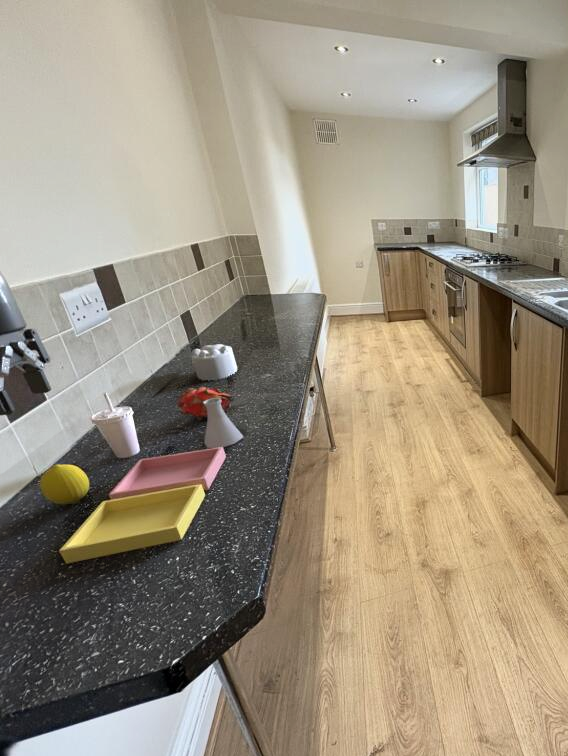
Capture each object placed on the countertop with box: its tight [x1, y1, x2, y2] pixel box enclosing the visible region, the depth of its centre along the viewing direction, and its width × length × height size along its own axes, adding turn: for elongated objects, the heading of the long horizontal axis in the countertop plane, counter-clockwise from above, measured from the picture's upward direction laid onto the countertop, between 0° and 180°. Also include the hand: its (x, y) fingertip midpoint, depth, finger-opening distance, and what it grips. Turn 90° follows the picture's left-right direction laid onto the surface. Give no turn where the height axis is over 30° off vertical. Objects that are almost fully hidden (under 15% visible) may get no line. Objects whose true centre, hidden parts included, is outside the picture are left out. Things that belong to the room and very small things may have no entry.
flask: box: [203, 398, 244, 449], centre depth 90 cm, size 7×7×10 cm
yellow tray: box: [58, 484, 206, 565], centre depth 66 cm, size 14×12×2 cm
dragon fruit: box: [176, 386, 235, 421], centre depth 102 cm, size 8×8×12 cm
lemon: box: [39, 464, 90, 505], centre depth 71 cm, size 6×6×8 cm
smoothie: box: [90, 391, 141, 459], centre depth 85 cm, size 6×6×14 cm
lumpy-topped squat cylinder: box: [190, 343, 238, 382], centre depth 130 cm, size 10×13×9 cm
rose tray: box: [108, 447, 227, 500], centre depth 78 cm, size 14×12×2 cm
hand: (24, 402), depth 65 cm, fingers open, 8 cm apart
